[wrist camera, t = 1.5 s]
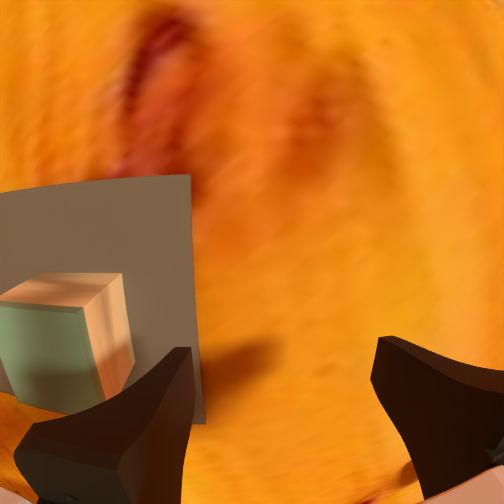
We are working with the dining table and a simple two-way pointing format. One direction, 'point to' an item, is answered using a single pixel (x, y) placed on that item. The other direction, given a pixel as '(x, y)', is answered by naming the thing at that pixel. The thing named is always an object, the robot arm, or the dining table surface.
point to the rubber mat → (113, 255)
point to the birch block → (66, 340)
